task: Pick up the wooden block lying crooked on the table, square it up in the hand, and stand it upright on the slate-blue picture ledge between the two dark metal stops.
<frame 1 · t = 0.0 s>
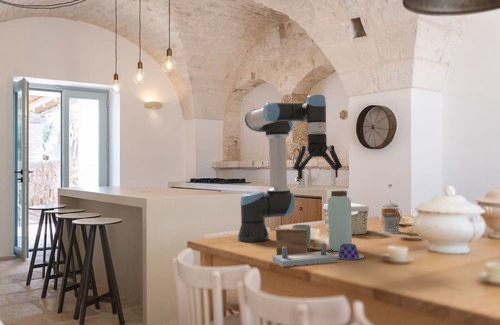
hand: (318, 186, 190), 28 cm above the table, fingers open, 13 cm apart
water bottle: (340, 250, 203), on the table
storage basket: (345, 232, 251), on the table
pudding: (348, 258, 187), on the table
french press: (392, 232, 246), on the table
wooden block: (292, 256, 191), on the table
mug: (391, 224, 274), on the table
cup: (302, 249, 208), on the table
ledge: (304, 261, 182), on the table
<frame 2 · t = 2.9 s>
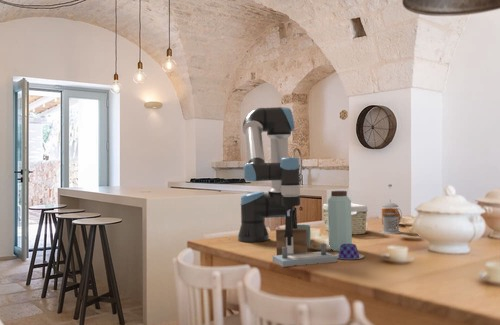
hand: (292, 250, 191), 2 cm above the table, fingers open, 10 cm apart
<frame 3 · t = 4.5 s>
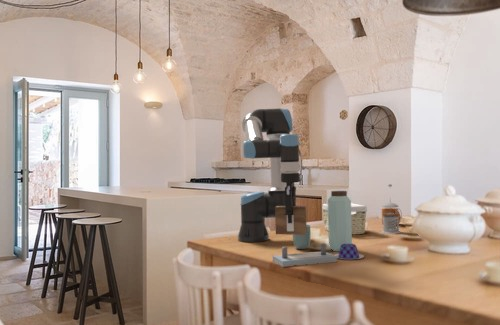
hand: (291, 229, 192), 11 cm above the table, fingers closed on wooden block, 4 cm apart
wooden block: (291, 233, 192), point 9 cm above the table, touching gripper
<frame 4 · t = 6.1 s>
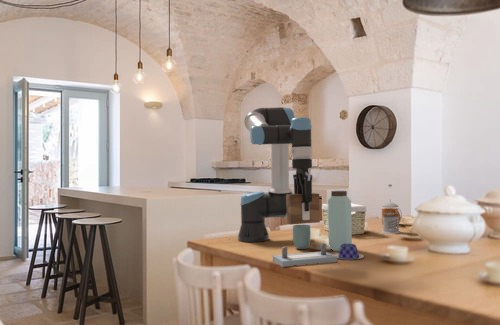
hand: (303, 219, 182), 16 cm above the table, fingers closed on wooden block, 4 cm apart
wooden block: (303, 222, 181), point 15 cm above the table, touching gripper
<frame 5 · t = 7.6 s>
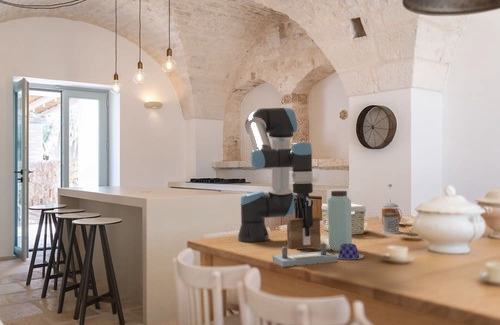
hand: (304, 243, 181), 7 cm above the table, fingers closed on wooden block, 4 cm apart
wooden block: (304, 247, 181), point 5 cm above the table, touching gripper
when the fingers open (4 cm above the table, at t = 8.8 s): wooden block stays where it is, resting on ledge.
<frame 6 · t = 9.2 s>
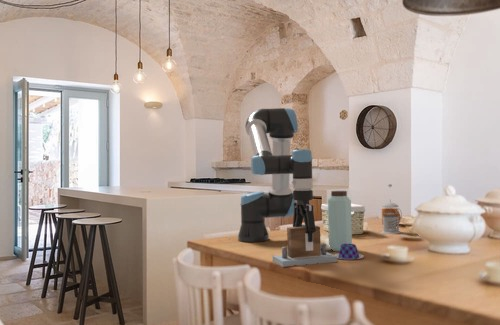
hand: (304, 248, 182), 5 cm above the table, fingers open, 9 cm apart
wooden block: (304, 255, 182), point 2 cm above the table, touching ledge
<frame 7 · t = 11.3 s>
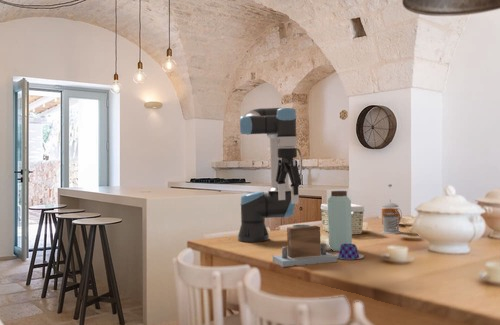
hand: (288, 201, 187), 23 cm above the table, fingers open, 13 cm apart
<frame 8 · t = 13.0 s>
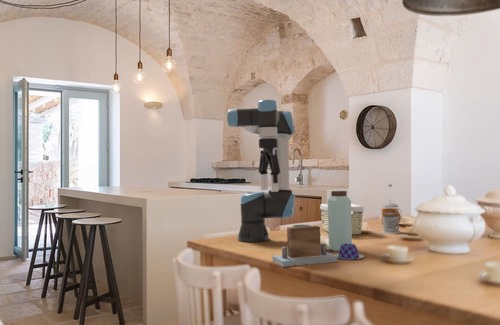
hand: (269, 190, 192), 27 cm above the table, fingers open, 13 cm apart
at the end: wooden block inside the target area on the ledge (0.1 cm from its centre), point 2.1 cm above the ledge's base; wooden block tilted 0°; the gripper is holding nothing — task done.
